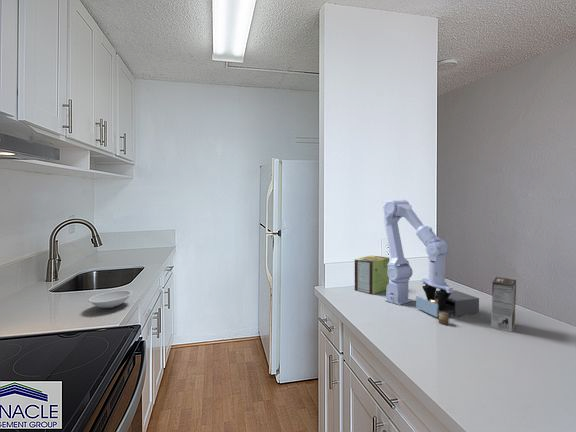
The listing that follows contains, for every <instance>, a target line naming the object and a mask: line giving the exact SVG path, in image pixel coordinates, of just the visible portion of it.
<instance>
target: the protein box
mask: <svg viewBox="0 0 576 432" xmlns="http://www.w3.org/2000/svg"><path fill="white" fill-rule="evenodd" d="M389 262H390V257H389V256H388V257H387V256H380V255H379V256H378V255H374V254H373V255H372V254H371V255H367V256H366V255H365V256H362V257H359V258H355V259H354V291H357V292H361V293H363V294H364V293H365V294H368V295H369V294H370V295H374V294H375V295H376V294H377V293H380V292H383V291H386V287H387V285H388V284H389V283H390V279H389V277H388V274H387V271H388V265H387V264H388V263H389Z"/></svg>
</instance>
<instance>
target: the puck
mask: <svg viewBox="0 0 576 432" xmlns="http://www.w3.org/2000/svg"><path fill="white" fill-rule="evenodd" d="M429 301H431V302H433V303H435V304H438V298H431V299H429Z"/></svg>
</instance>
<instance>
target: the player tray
mask: <svg viewBox="0 0 576 432" xmlns="http://www.w3.org/2000/svg"><path fill="white" fill-rule="evenodd" d="M415 308H416V309H419V310H421V311H423V312H424V313H427V314H429V315H431V316H434V318H435V317H436V318H439V312H446V313H448V314H449V313H454V312H455V307H454V306H452V305H449V304H447V303H446V304H445V308H444V309H439V305H438V304H435V303H433V302H431V301H428V300H427V298H423V297H421V296H419V295H416V296H415Z"/></svg>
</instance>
